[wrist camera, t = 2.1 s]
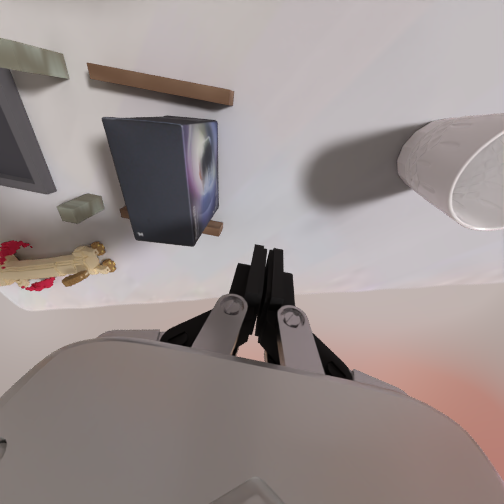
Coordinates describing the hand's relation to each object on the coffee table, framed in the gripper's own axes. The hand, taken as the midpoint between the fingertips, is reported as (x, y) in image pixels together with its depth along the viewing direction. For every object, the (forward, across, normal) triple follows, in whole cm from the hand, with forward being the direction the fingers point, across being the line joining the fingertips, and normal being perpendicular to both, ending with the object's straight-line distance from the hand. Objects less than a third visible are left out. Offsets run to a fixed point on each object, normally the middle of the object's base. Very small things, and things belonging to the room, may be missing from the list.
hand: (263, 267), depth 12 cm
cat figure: (+18, +37, +21) cm, 46 cm away
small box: (+17, +10, -1) cm, 20 cm away
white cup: (+17, -16, -7) cm, 24 cm away
